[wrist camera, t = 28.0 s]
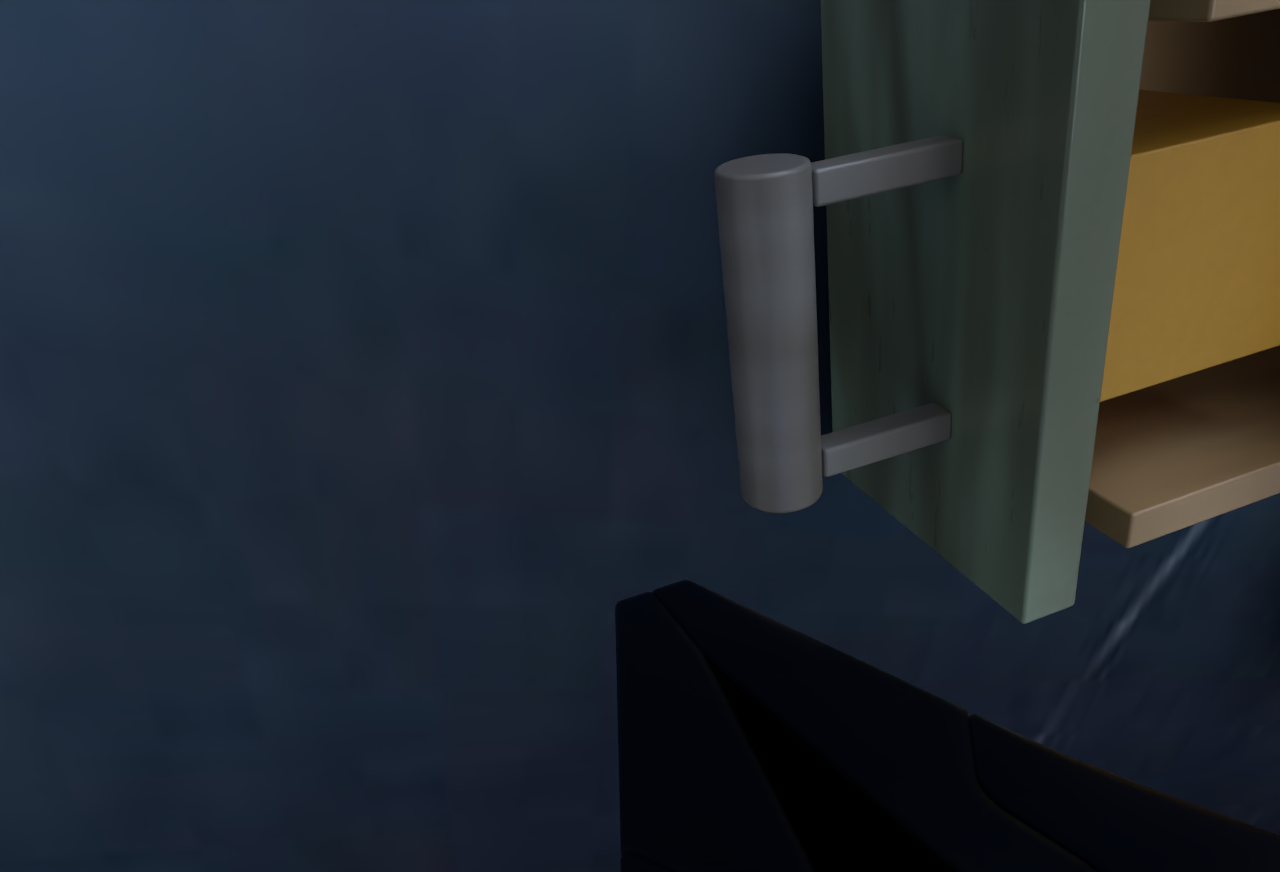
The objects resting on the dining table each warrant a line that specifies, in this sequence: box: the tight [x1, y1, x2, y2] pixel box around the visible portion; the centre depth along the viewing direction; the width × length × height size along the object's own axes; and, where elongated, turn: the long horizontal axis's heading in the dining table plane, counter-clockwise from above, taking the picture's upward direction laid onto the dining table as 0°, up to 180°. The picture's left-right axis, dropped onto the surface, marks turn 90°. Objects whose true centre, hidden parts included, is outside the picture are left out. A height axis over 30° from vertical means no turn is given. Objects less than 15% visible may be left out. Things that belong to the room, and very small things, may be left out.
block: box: [1100, 89, 1280, 402], centre depth 18 cm, size 4×4×4 cm
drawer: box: [714, 0, 1280, 624], centre depth 18 cm, size 18×11×7 cm, turn 98°
